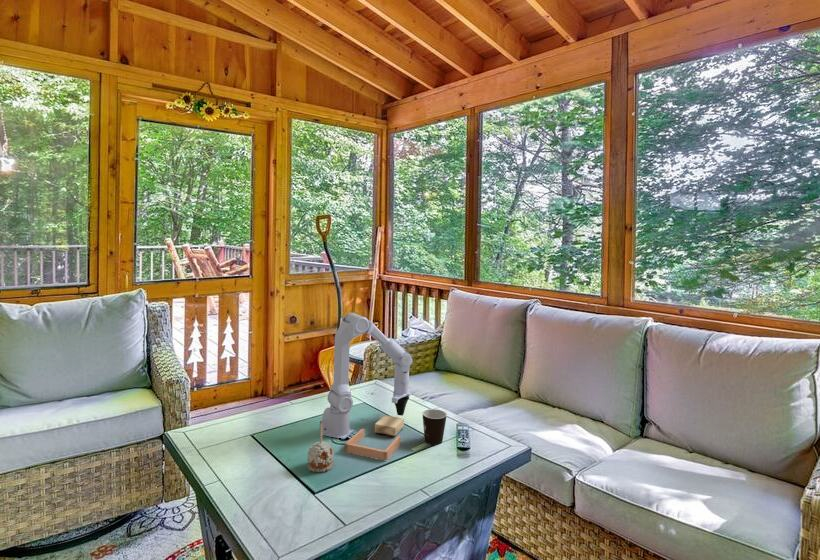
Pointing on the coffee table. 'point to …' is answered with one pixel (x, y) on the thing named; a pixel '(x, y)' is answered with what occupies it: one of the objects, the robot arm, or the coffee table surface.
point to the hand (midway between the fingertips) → (400, 414)
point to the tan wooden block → (389, 425)
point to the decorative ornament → (320, 455)
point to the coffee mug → (434, 426)
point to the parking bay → (370, 452)
